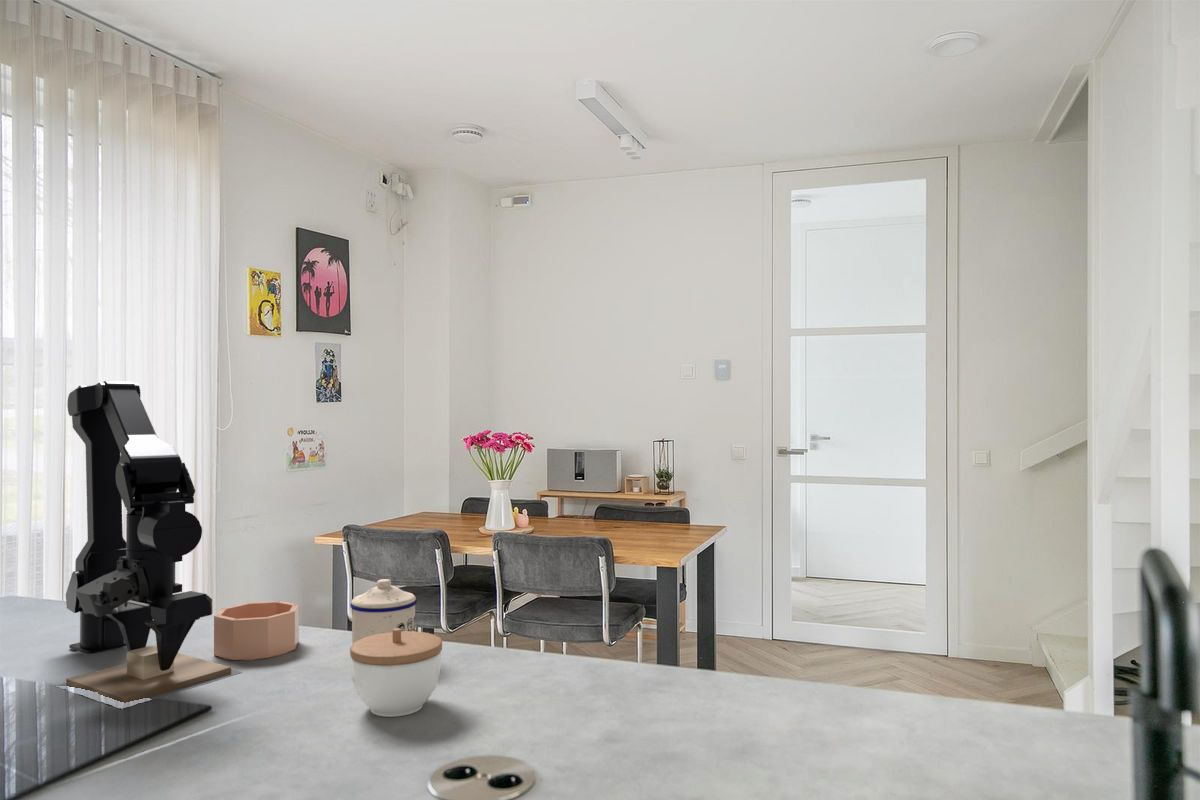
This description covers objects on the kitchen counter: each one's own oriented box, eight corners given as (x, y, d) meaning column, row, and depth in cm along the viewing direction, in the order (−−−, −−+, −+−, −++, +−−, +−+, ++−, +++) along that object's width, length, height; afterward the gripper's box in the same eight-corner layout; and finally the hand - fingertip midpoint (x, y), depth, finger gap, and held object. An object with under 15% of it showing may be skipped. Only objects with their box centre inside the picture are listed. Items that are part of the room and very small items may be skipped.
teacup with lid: (400, 674, 109) (399, 588, 109) (338, 670, 111) (338, 585, 111) (434, 649, 121) (434, 571, 121) (378, 646, 123) (378, 569, 123)
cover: (66, 685, 105) (66, 655, 105) (171, 656, 117) (171, 630, 117) (125, 705, 97) (125, 673, 97) (231, 673, 109) (231, 644, 109)
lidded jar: (419, 728, 91) (419, 644, 91) (332, 721, 93) (332, 639, 93) (455, 695, 101) (455, 620, 101) (376, 689, 103) (376, 616, 104)
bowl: (200, 654, 119) (200, 613, 119) (266, 636, 128) (266, 598, 128) (247, 666, 113) (247, 623, 113) (312, 646, 122) (312, 607, 122)
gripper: (49, 550, 105) (48, 671, 105) (127, 564, 95) (126, 697, 95) (135, 538, 115) (135, 649, 115) (215, 550, 105) (214, 671, 105)
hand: (150, 665), depth 107 cm, fingers open, 6 cm apart
